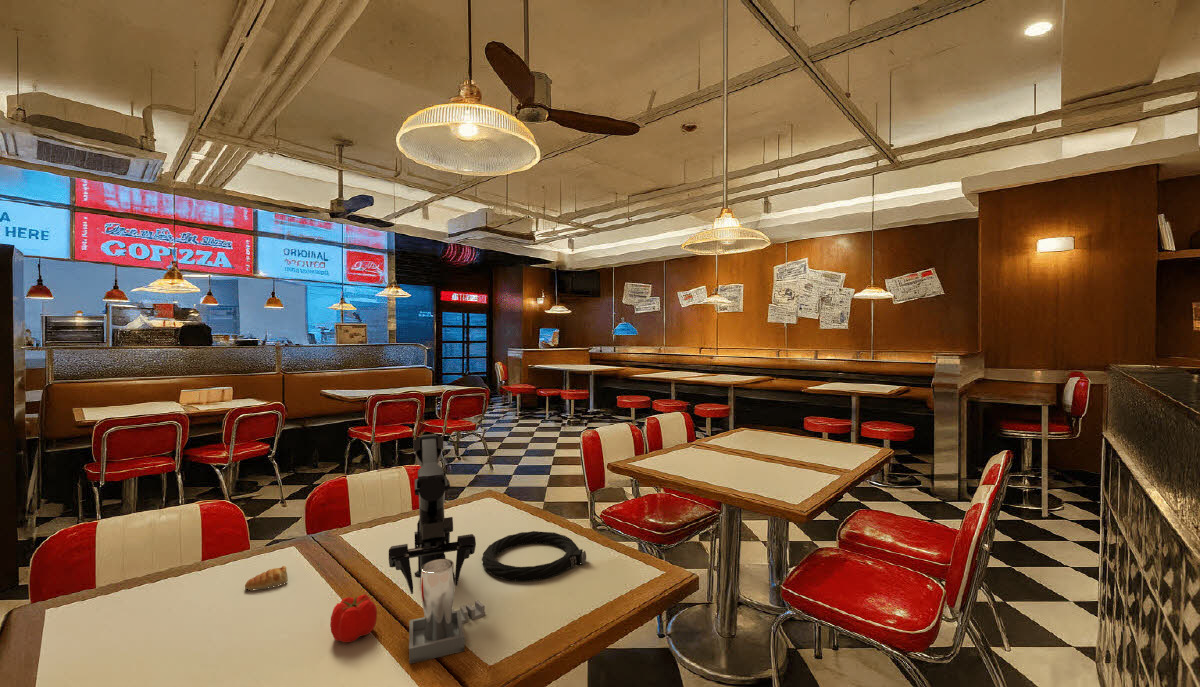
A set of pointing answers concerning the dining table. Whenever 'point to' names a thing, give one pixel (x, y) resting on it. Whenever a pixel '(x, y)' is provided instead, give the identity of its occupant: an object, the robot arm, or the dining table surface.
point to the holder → (435, 648)
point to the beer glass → (437, 598)
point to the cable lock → (532, 572)
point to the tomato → (353, 618)
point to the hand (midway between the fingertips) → (434, 589)
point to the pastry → (268, 579)
